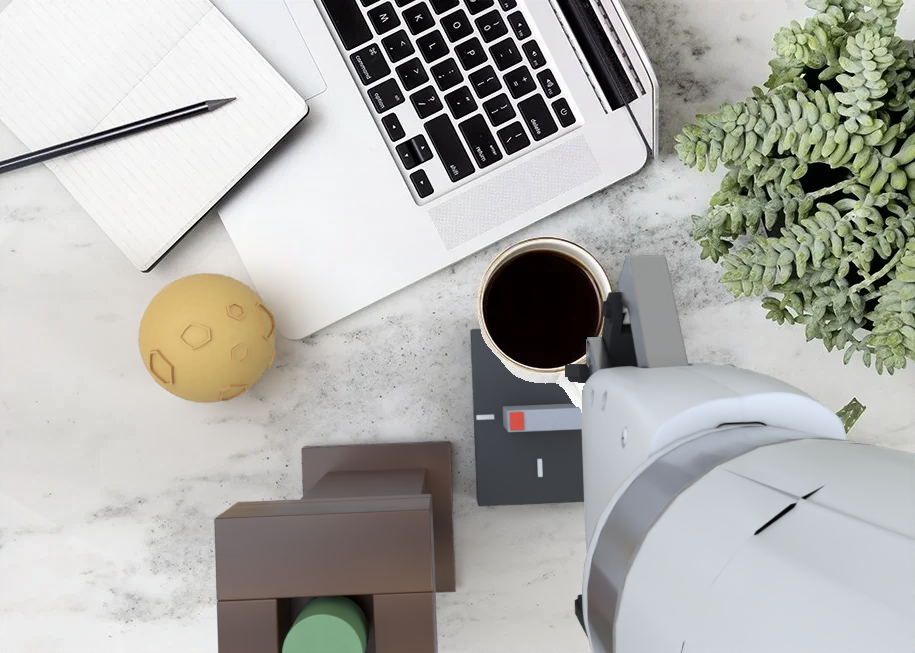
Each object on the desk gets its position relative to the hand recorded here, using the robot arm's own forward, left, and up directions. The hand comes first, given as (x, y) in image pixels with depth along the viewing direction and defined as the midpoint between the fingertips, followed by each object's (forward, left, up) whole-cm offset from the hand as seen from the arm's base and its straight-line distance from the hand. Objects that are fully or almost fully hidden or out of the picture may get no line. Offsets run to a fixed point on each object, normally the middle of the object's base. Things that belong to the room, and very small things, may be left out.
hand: (606, 485), depth 33 cm
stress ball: (+8, +25, -32) cm, 41 cm away
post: (-7, +13, -31) cm, 35 cm away
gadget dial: (+1, 0, -29) cm, 29 cm away
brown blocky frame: (-7, +13, -7) cm, 16 cm away
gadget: (+1, 0, -31) cm, 31 cm away
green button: (-7, +13, -5) cm, 15 cm away
